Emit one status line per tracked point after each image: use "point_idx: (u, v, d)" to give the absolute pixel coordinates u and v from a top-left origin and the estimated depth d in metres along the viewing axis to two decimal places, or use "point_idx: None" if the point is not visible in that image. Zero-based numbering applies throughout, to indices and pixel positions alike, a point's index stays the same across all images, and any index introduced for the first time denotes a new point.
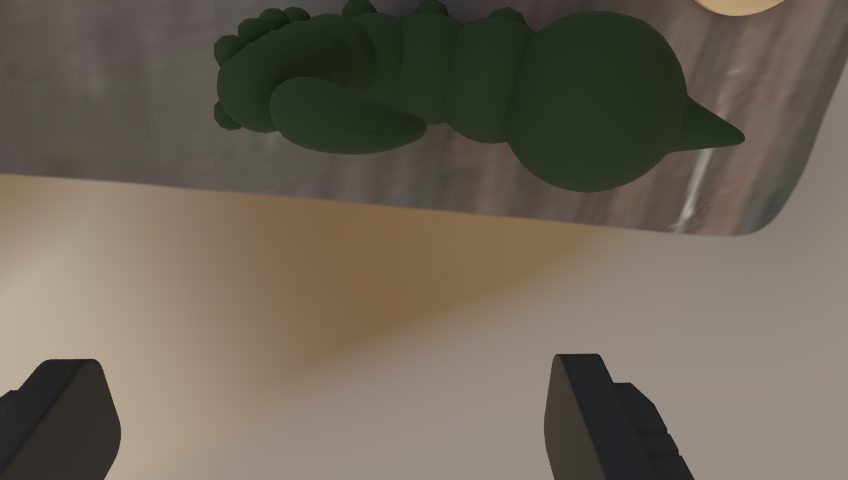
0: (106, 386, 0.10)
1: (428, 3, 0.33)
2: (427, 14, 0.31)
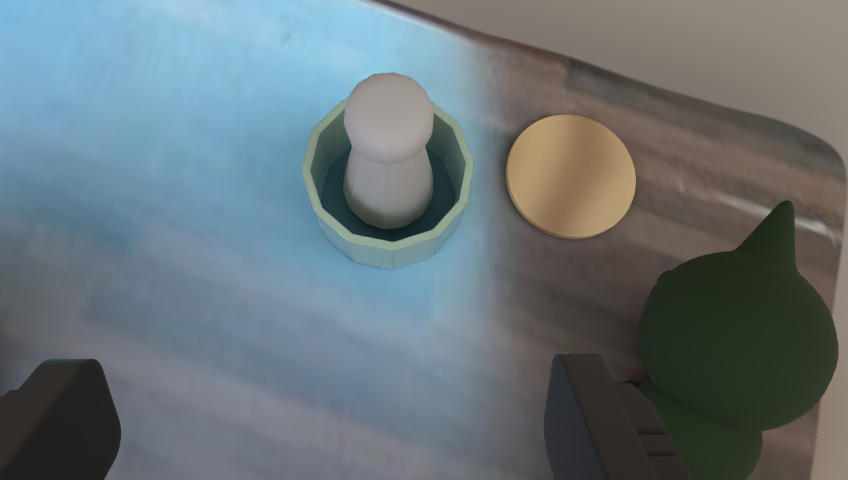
0: (106, 386, 0.10)
1: None
2: None
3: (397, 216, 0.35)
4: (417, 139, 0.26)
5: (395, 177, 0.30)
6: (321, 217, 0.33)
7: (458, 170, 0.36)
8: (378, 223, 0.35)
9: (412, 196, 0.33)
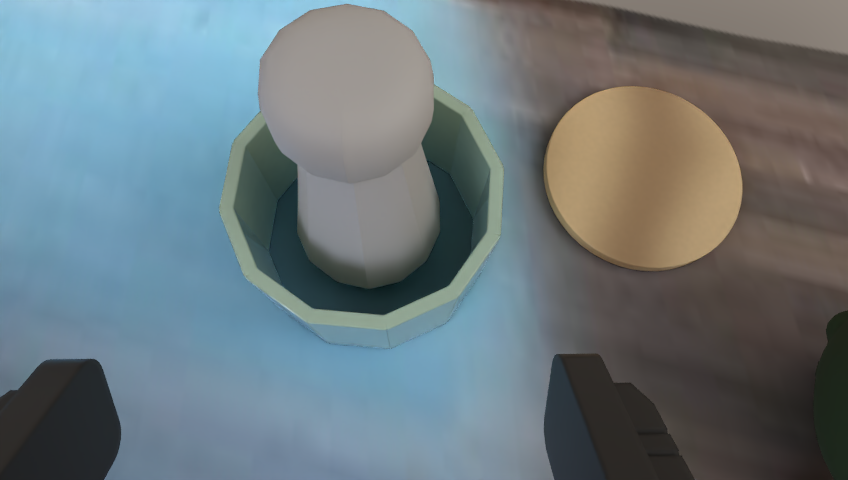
0: (106, 386, 0.10)
1: None
2: None
3: (388, 268, 0.21)
4: (406, 125, 0.13)
5: (374, 204, 0.17)
6: (257, 285, 0.19)
7: (476, 183, 0.23)
8: (358, 281, 0.22)
9: (408, 233, 0.20)
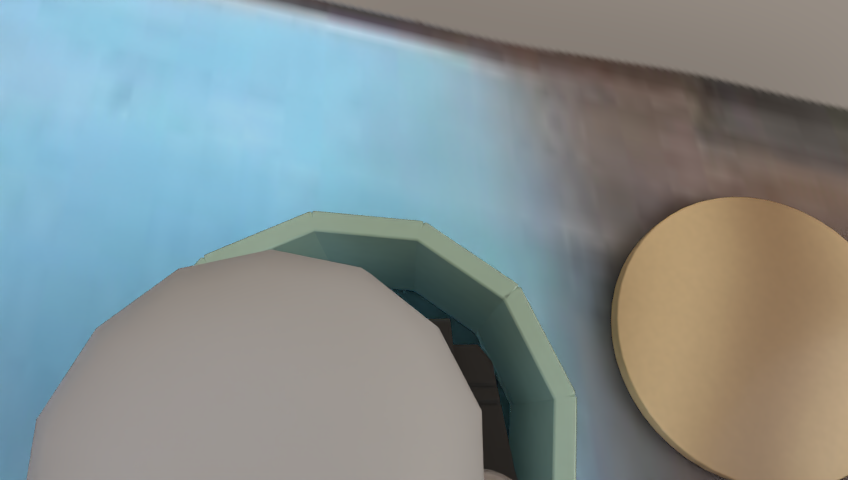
0: None
1: None
2: None
3: None
4: None
5: None
6: None
7: (522, 384, 0.15)
8: None
9: None
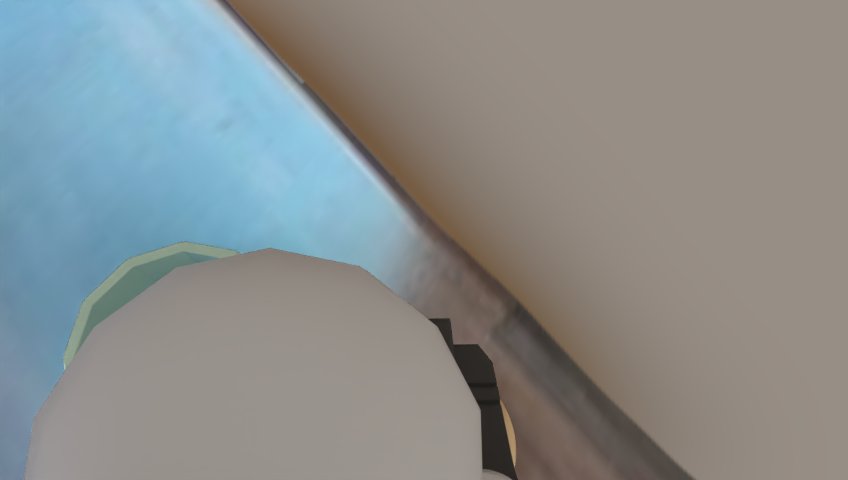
0: None
1: None
2: None
3: None
4: None
5: None
6: (65, 369, 0.25)
7: None
8: None
9: None
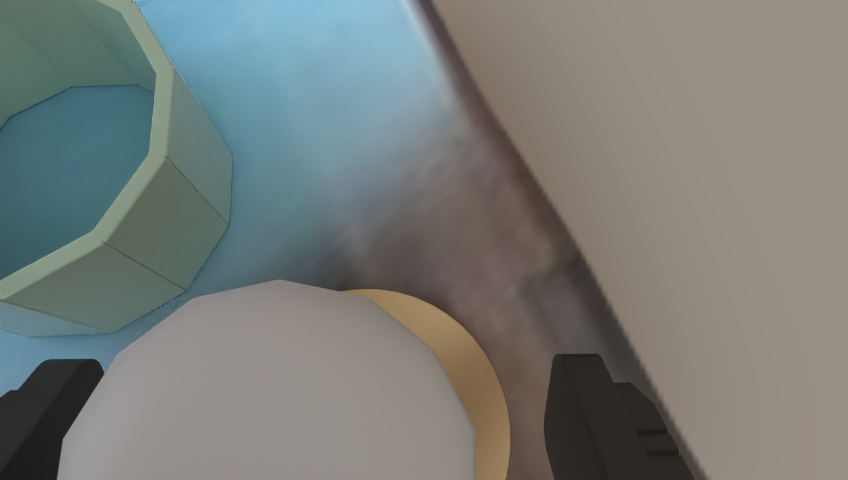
0: None
1: None
2: None
3: None
4: None
5: None
6: None
7: None
8: None
9: None
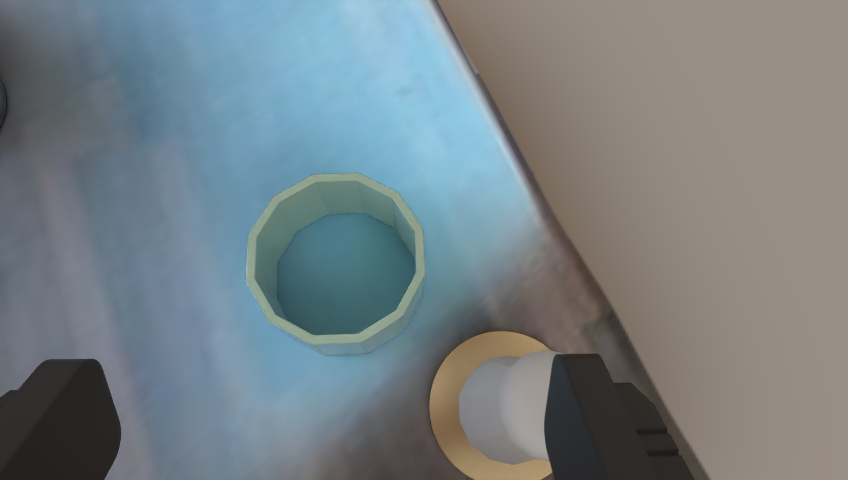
0: (106, 386, 0.10)
1: None
2: None
3: (533, 457, 0.30)
4: None
5: None
6: (248, 244, 0.32)
7: None
8: (508, 462, 0.31)
9: None
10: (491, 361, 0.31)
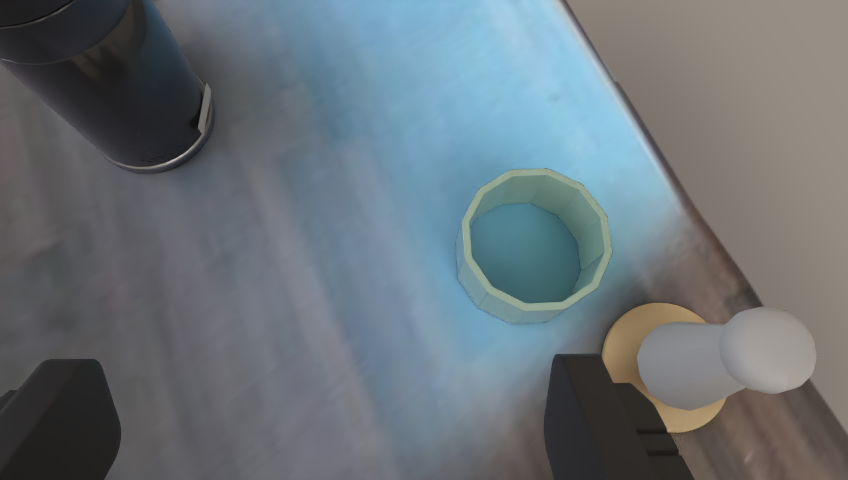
0: (106, 386, 0.10)
1: None
2: None
3: (711, 403, 0.36)
4: (810, 374, 0.28)
5: None
6: (462, 228, 0.38)
7: (583, 284, 0.40)
8: (686, 408, 0.37)
9: None
10: (668, 325, 0.38)
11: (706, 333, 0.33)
